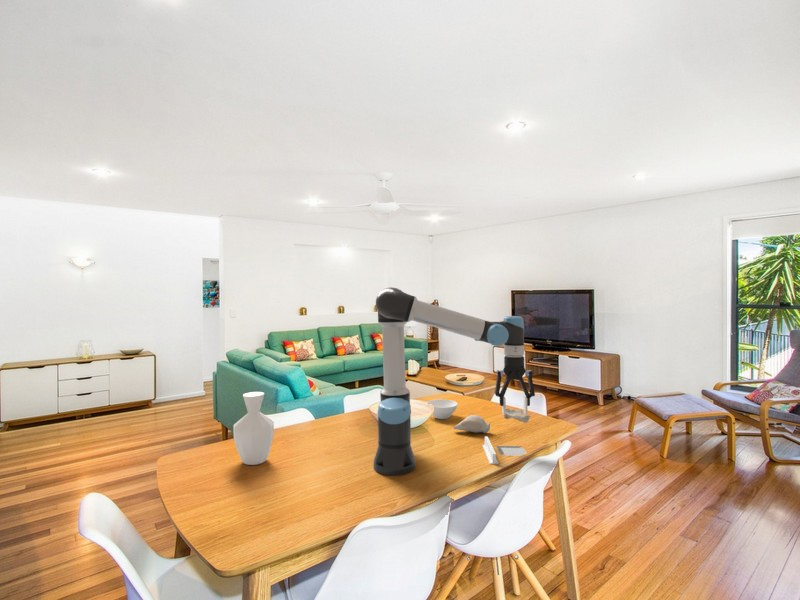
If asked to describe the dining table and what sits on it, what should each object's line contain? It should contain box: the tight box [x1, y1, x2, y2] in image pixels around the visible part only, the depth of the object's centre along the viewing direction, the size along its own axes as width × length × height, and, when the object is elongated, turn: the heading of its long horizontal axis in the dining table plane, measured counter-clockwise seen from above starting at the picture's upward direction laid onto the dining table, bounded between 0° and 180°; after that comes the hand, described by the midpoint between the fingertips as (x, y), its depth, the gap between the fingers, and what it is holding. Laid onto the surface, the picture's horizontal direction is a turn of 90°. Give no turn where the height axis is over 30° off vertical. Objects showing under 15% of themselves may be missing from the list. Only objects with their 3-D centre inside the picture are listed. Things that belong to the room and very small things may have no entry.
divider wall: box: [482, 436, 499, 465], centre depth 152 cm, size 3×18×4 cm, turn 177°
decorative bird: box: [453, 414, 491, 434], centre depth 177 cm, size 9×16×8 cm, turn 79°
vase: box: [232, 391, 275, 466], centre depth 148 cm, size 14×14×25 cm
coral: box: [503, 407, 531, 424], centre depth 153 cm, size 6×10×4 cm, turn 52°
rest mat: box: [496, 445, 527, 457], centre depth 154 cm, size 12×12×1 cm
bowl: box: [425, 398, 459, 420], centre depth 201 cm, size 16×16×7 cm
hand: (514, 414), depth 154 cm, fingers closed on coral, 8 cm apart
